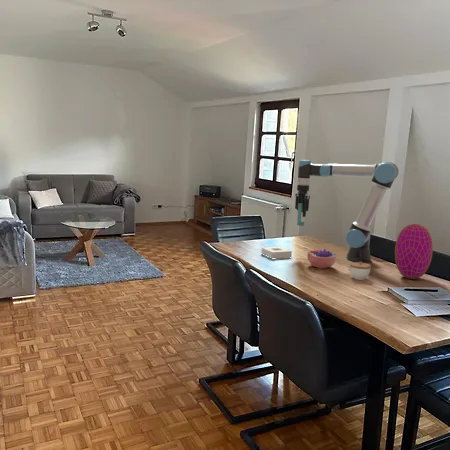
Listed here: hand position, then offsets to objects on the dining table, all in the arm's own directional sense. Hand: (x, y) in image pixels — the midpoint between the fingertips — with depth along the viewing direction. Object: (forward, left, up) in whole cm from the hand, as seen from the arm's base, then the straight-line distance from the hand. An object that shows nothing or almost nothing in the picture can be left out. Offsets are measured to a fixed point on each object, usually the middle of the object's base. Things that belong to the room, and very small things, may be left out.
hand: (300, 221), depth 301 cm
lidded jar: (-56, -3, -23) cm, 60 cm away
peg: (0, 0, -3) cm, 3 cm away
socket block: (+3, +15, -23) cm, 27 cm away
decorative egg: (-64, -32, -23) cm, 75 cm away
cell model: (-29, +3, -23) cm, 37 cm away
